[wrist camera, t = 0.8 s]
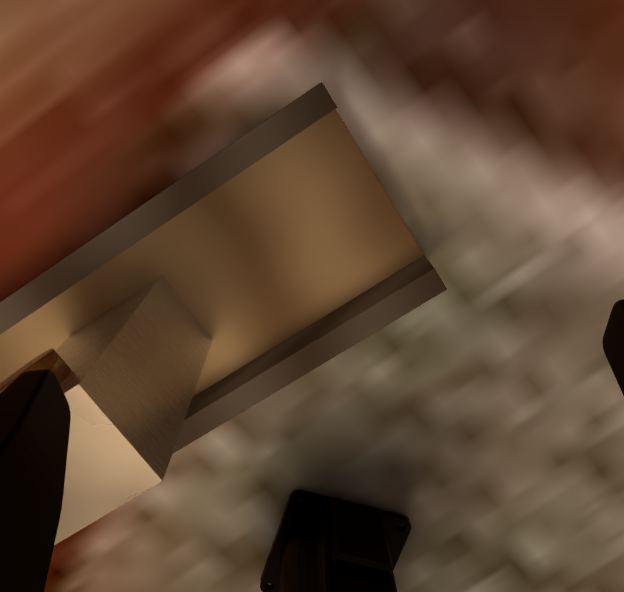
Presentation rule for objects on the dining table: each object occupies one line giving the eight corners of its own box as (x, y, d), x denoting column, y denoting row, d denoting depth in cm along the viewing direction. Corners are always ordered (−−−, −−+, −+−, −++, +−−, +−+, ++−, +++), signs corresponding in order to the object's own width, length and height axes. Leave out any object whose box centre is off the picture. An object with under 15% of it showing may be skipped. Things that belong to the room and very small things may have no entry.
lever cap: (212, 339, 26) (162, 481, 16) (120, 397, 26) (21, 564, 17) (150, 258, 24) (57, 360, 15) (56, 321, 25) (-89, 455, 16)
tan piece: (318, 84, 24) (321, 81, 21) (425, 262, 27) (446, 289, 23) (-110, 377, 28) (-175, 421, 24) (19, 510, 31) (-20, 568, 27)
